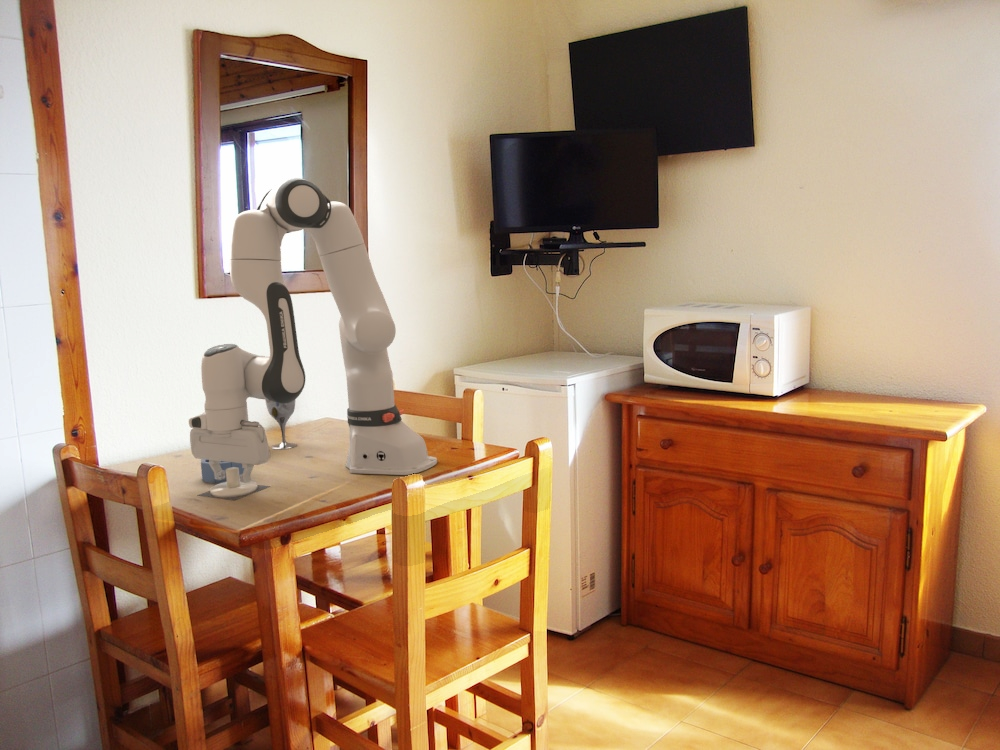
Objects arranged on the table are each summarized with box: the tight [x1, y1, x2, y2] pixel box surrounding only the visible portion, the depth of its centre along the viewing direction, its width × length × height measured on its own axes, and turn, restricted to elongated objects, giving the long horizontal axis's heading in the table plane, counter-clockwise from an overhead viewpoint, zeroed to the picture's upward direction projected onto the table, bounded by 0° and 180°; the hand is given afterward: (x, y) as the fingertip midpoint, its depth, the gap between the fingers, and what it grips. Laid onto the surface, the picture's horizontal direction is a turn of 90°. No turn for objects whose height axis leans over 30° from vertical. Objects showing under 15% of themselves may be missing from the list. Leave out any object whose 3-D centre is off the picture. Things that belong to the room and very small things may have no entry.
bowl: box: [200, 459, 244, 484], centre depth 196 cm, size 10×10×5 cm
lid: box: [209, 467, 258, 498], centre depth 184 cm, size 10×10×5 cm
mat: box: [197, 484, 271, 502], centre depth 184 cm, size 11×11×1 cm
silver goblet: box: [264, 399, 299, 450], centre depth 227 cm, size 8×8×15 cm
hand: (232, 480), depth 184 cm, fingers open, 6 cm apart
